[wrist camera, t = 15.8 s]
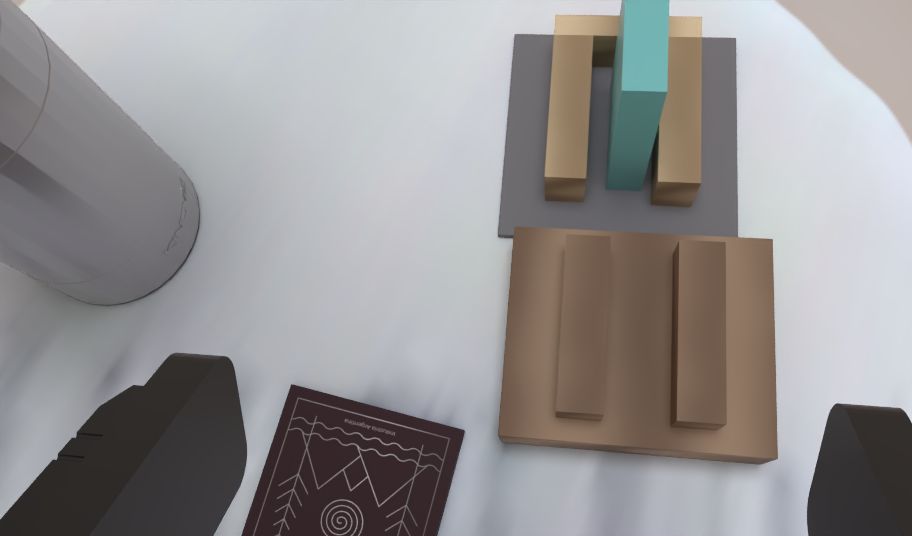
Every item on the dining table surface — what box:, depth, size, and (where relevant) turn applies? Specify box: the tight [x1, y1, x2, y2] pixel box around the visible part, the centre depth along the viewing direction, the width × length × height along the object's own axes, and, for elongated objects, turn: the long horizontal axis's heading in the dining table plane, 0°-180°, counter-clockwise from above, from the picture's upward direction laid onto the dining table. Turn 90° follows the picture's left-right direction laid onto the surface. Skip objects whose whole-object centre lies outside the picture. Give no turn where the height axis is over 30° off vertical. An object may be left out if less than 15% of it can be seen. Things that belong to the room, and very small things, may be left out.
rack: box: [545, 15, 702, 207], centre depth 42 cm, size 7×9×3 cm
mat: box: [498, 34, 738, 238], centre depth 43 cm, size 12×12×1 cm
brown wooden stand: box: [498, 226, 778, 464], centre depth 38 cm, size 12×10×5 cm
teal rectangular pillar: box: [606, 0, 669, 191], centre depth 38 cm, size 2×6×10 cm, turn 175°
